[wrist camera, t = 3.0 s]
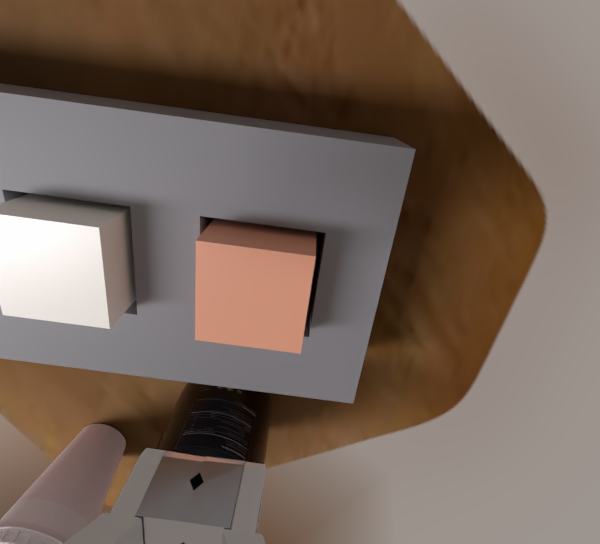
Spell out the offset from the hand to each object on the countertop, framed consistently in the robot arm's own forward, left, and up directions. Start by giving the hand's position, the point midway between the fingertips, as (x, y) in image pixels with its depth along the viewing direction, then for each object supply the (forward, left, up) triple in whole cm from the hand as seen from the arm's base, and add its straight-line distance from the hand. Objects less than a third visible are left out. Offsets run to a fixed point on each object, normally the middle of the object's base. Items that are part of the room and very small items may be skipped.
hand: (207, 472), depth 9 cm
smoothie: (+19, -12, -15) cm, 27 cm away
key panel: (0, -9, -15) cm, 18 cm away
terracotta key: (0, 0, -13) cm, 13 cm away
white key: (0, -9, -12) cm, 16 cm away
